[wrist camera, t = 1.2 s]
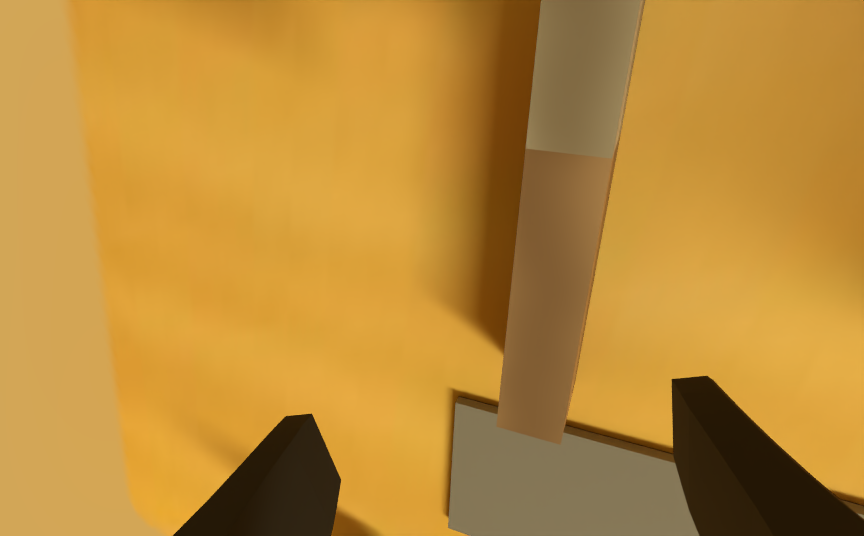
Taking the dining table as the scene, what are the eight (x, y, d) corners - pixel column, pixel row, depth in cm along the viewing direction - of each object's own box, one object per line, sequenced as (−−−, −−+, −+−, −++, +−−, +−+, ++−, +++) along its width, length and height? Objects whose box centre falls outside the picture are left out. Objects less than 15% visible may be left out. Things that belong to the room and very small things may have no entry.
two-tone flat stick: (651, -35, 16) (648, -45, 13) (575, 382, 24) (560, 444, 20) (568, -36, 17) (545, -45, 14) (518, 368, 24) (496, 426, 21)
